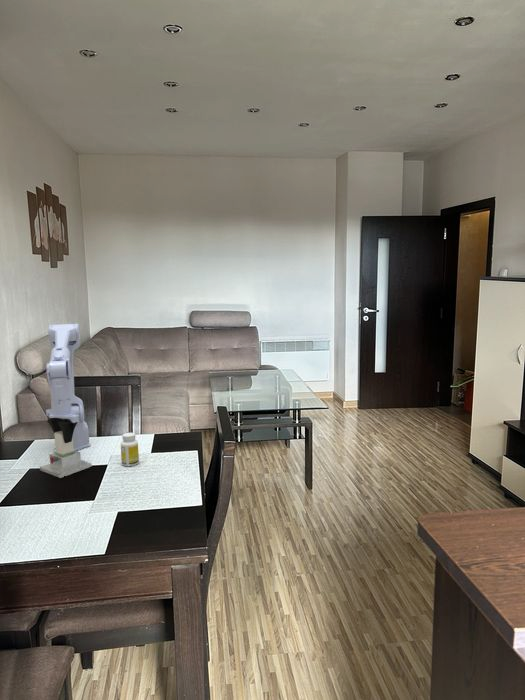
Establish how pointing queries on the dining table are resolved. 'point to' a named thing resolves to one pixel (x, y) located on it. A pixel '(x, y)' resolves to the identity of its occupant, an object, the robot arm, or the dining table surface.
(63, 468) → the stand
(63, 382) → the robot arm
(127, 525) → the dining table surface
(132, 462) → the supplement bottle
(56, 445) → the rectangular block
